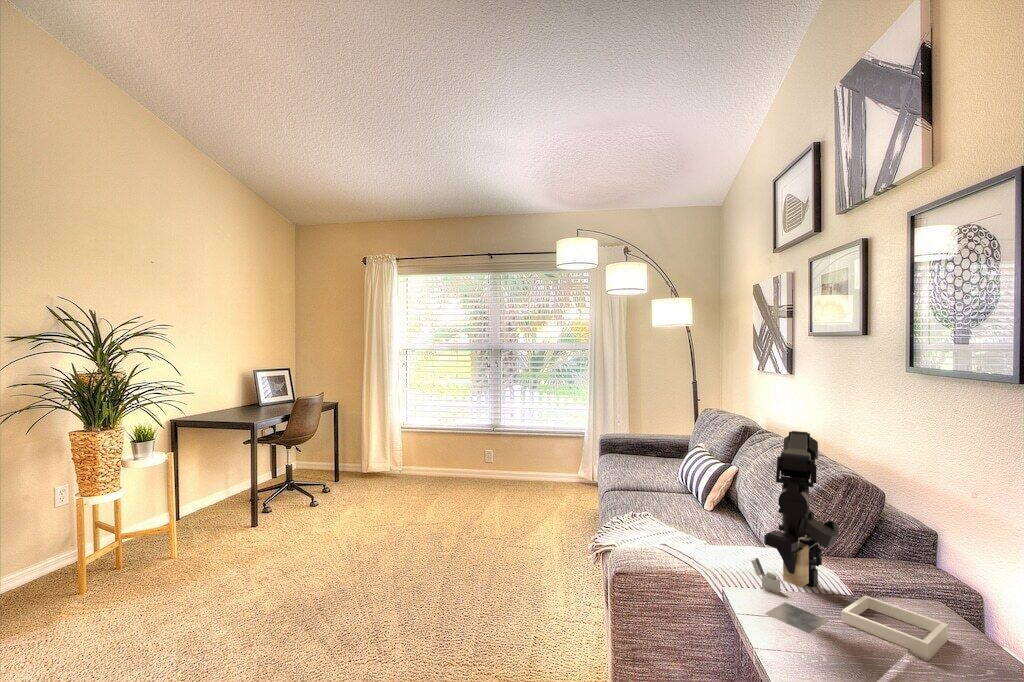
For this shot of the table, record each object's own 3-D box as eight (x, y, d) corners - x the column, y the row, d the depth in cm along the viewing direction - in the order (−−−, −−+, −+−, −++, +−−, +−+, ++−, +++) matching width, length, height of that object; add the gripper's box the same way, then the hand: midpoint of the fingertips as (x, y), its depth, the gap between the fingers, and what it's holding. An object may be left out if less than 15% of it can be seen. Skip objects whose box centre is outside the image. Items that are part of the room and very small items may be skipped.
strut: (783, 580, 116) (783, 542, 117) (791, 576, 119) (791, 539, 119) (800, 587, 113) (800, 548, 114) (808, 583, 115) (808, 545, 116)
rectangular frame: (841, 625, 114) (841, 610, 114) (865, 609, 122) (864, 595, 122) (928, 661, 101) (927, 644, 101) (948, 640, 109) (947, 624, 109)
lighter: (780, 595, 128) (780, 565, 129) (777, 597, 127) (777, 566, 128) (753, 585, 134) (753, 556, 134) (750, 587, 133) (750, 557, 133)
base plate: (764, 617, 117) (764, 613, 117) (784, 606, 123) (784, 602, 123) (808, 637, 109) (808, 633, 109) (828, 624, 114) (828, 620, 114)
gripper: (813, 521, 105) (814, 595, 104) (849, 508, 115) (850, 574, 115) (762, 508, 114) (762, 575, 113) (800, 497, 125) (800, 558, 124)
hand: (795, 571), depth 116 cm, fingers closed on strut, 4 cm apart
